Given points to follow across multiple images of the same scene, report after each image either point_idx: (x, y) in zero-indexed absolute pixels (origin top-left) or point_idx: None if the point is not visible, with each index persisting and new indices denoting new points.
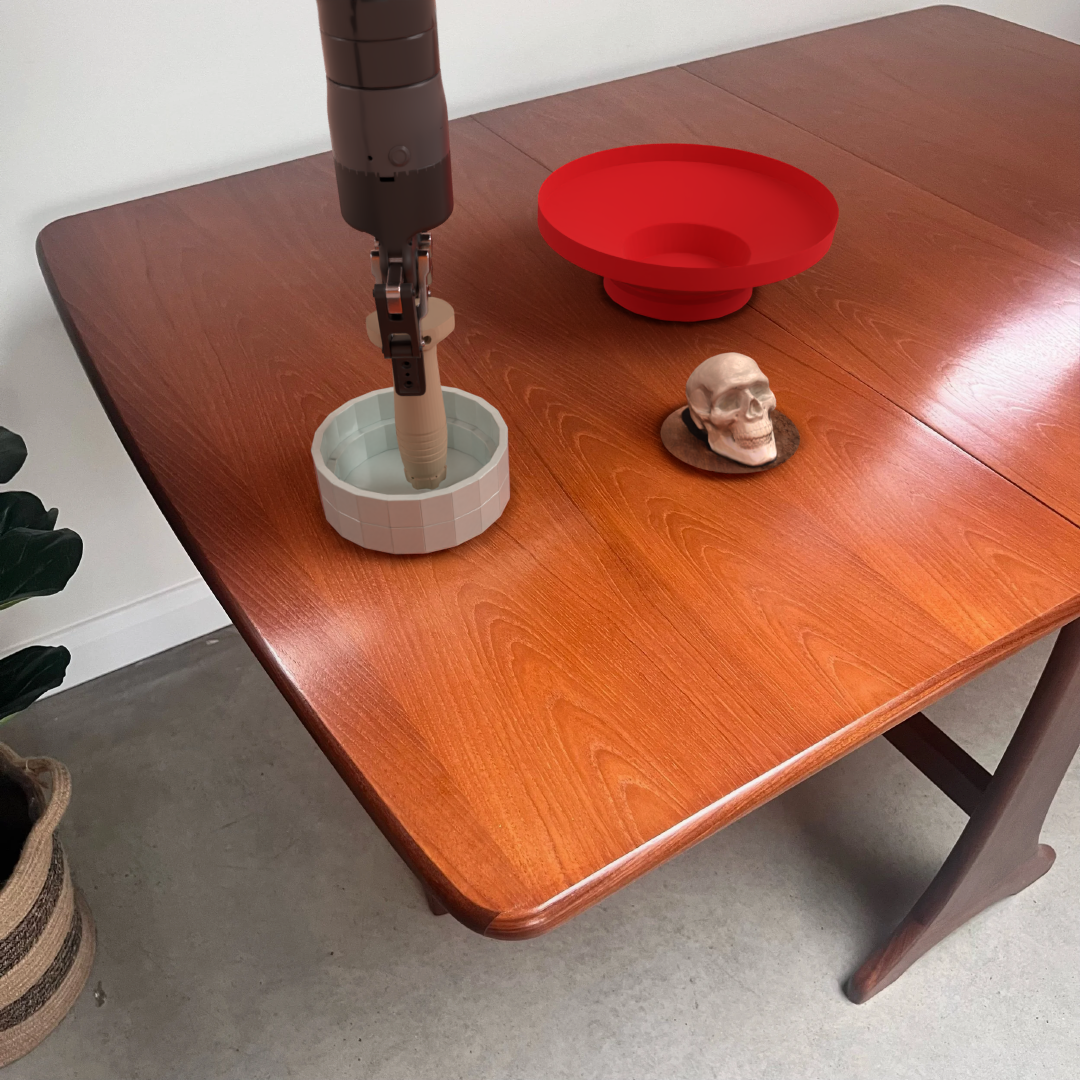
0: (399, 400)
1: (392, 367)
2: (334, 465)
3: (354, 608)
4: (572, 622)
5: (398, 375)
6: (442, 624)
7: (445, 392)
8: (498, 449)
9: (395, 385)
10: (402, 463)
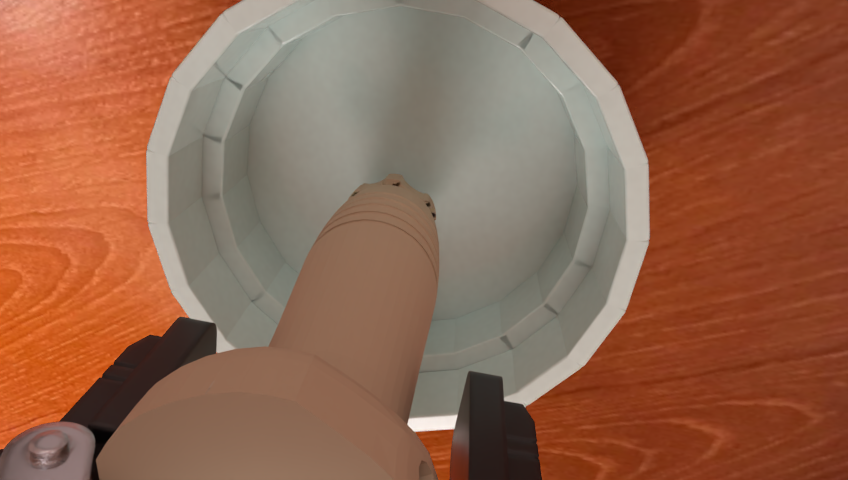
0: (306, 283)
1: (321, 329)
2: (439, 9)
3: (89, 16)
4: (66, 360)
5: (95, 382)
6: (54, 174)
7: (580, 335)
8: None
9: (166, 333)
10: (514, 160)
